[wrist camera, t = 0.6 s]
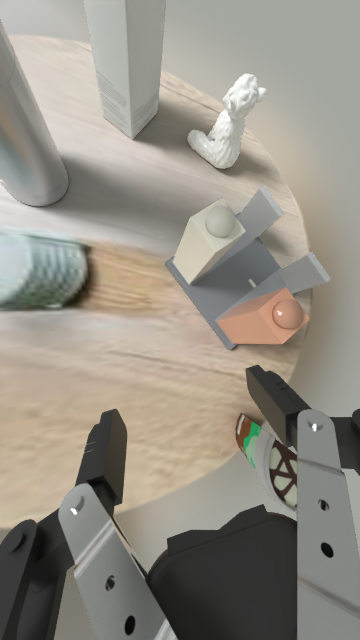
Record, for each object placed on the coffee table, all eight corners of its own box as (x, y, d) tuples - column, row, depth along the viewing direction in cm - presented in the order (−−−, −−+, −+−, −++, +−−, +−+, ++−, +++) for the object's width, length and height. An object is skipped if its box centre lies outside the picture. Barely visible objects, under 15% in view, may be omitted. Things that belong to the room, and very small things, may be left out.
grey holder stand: (164, 264, 34) (172, 240, 26) (237, 216, 38) (263, 182, 30) (229, 351, 35) (256, 354, 27) (294, 296, 38) (335, 283, 30)
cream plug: (172, 262, 33) (192, 211, 20) (193, 247, 34) (225, 190, 21) (188, 284, 33) (219, 248, 20) (209, 269, 34) (250, 226, 21)
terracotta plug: (216, 321, 33) (263, 308, 20) (236, 305, 34) (292, 284, 21) (232, 343, 33) (289, 344, 20) (251, 327, 34) (317, 318, 21)
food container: (213, 441, 33) (244, 483, 23) (234, 407, 34) (272, 434, 24) (270, 482, 34) (323, 541, 24) (288, 449, 35) (346, 491, 25)
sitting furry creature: (226, 127, 39) (262, 36, 28) (247, 166, 39) (292, 91, 28) (184, 140, 37) (204, 48, 26) (206, 181, 37) (236, 107, 26)
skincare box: (130, 89, 36) (123, -93, 21) (160, 114, 37) (174, -45, 22) (101, 118, 35) (69, -57, 19) (132, 143, 35) (126, -7, 20)
